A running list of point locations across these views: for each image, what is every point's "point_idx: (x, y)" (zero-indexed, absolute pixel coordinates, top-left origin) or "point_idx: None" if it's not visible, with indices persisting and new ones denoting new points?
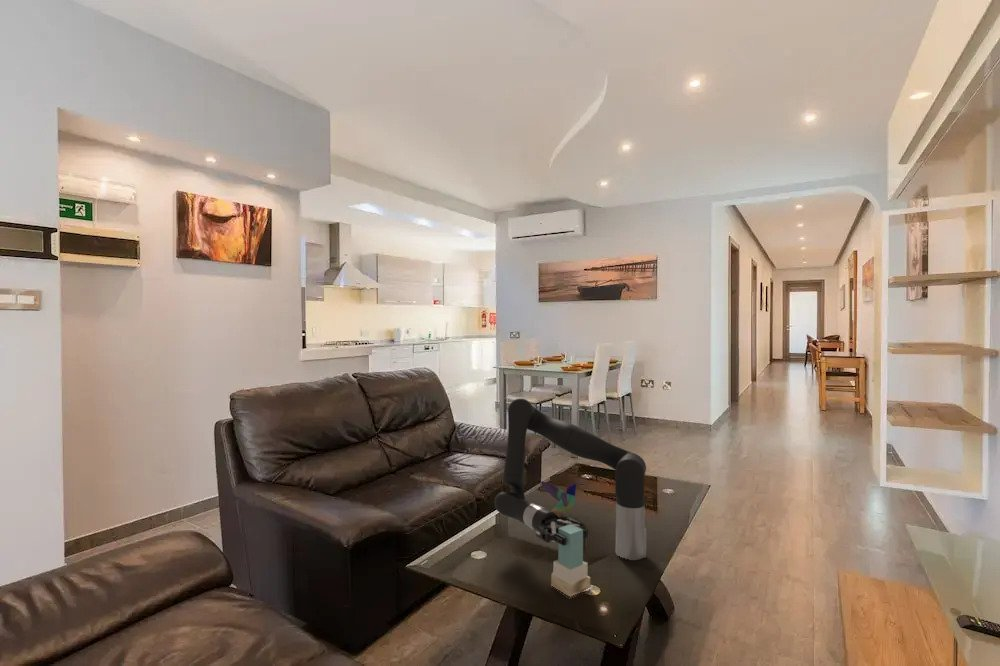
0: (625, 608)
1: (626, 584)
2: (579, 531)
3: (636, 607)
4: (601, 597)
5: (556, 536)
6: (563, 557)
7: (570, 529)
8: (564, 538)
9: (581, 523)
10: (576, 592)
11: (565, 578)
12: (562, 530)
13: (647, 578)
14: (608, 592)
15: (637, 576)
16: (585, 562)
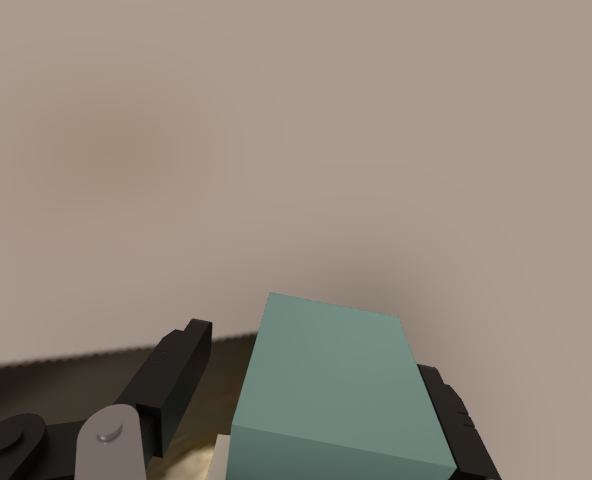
0: (239, 353)
1: (94, 405)
2: (305, 302)
3: (217, 338)
4: (231, 425)
5: (482, 457)
6: None
7: (347, 351)
8: (431, 367)
9: (25, 422)
10: None
11: None
12: (427, 399)
13: (16, 372)
14: (185, 424)
15: (3, 402)
16: (219, 446)
